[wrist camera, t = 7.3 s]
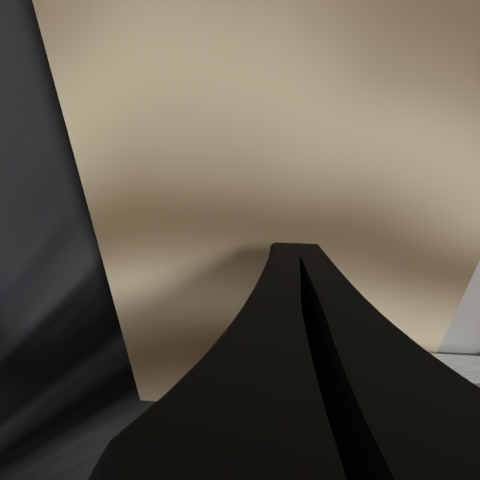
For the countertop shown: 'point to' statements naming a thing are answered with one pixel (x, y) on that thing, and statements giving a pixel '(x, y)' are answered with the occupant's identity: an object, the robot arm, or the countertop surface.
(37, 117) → the countertop surface
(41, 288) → the countertop surface
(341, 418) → the robot arm
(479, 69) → the door panel
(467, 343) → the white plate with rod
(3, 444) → the countertop surface
